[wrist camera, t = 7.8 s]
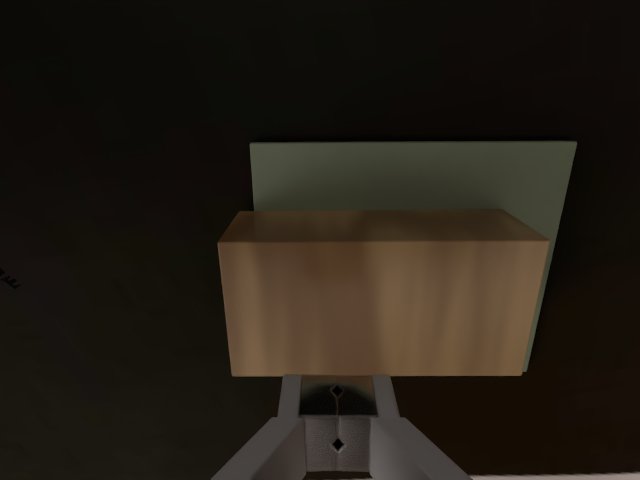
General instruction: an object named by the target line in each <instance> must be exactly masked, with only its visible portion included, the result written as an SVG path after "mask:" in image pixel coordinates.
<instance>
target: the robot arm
mask: <svg viewBox="0 0 640 480" xmlns="http://www.w3.org/2000/svg"><path fill="white" fill-rule="evenodd" d="M307 471H361V472H370V474H371V476H372V477H373V479H374V480H473V479H471V478H470V477H469V476H468V475H467V474H466V473H465V472H464V471H463V470H462V469H461V468H459V467H458V466H457V465H456V464H455V463H454V462H453V461H452V460H451V459H450V458H449V457H447V456H446V455H445V454H444V453H443V452H442V451H441V450H440V449H439V448H438V447H437V446H435V445H434V444H433V443H432V442H431V441H430V440H429V439H428V438H427V437H426V436H425V435H423V434H422V433H421V432H420V431H419V430H418V429H417V428H416V427H415V426H414V425H413V424H411V423H410V422H409V421H408V420H407V419H406V418H400V416H399V412H398V408H397V403H396V399H395V395H394V391H393V387H392V382H391V378H390V376H389V375H388V374H374V375H313V374H302V375H301V374H285V375H284V377H283V382H282V389H281V396H280V403H279V410H278V416H277V417H272V418H271V419H270V420H269V421H268V422H267V423H266V424H265V425H264V426H263V427H262V428H261V429H260V430H259V431H258V432H257V433H256V434H255V435H254V436H253V437H252V438H251V439H250V440H249V441H248V442H247V443H246V444H245V445H244V446H243V447H242V448H241V449H240V450H239V451H238V452H237V453H236V454H235V455H234V456H233V457H232V458H231V459H230V460H229V461H228V462H227V463H226V464H225V465H224V466H223V467H222V468H221V469H220V470H219V471H218V472H217V473H216V474H215V475H214V476H213V477H212V479H211V480H302V479H303V477H304V476H305V474H306V472H307Z"/></svg>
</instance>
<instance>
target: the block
mask: <svg viewBox="0 0 640 480" xmlns="http://www.w3.org/2000/svg"><path fill="white" fill-rule="evenodd" d="M217 244H218V253H219V262H220V271H221V280H222V289H223V298H224V308H225V317H226V326H227V335H228V344H229V353H230V362H231V371H232V376H284V375H285V374H301V375H302V374H313V375H374V374H388V375H389V376H521V375H522V372H523V367H524V363H525V358H526V353H527V348H528V344H529V339H530V334H531V330H532V325H533V320H534V315H535V311H536V306H537V301H538V297H539V292H540V287H541V282H542V278H543V273H544V268H545V263H546V259H547V254H548V249H549V245H550V240H549V239H548V238H546V237H544V236H543V235H541V234H540V233H538V232H537V231H535V230H534V229H532V228H531V227H529V226H528V225H526V224H525V223H523V222H522V221H520V220H518V219H517V218H515V217H514V216H512V215H511V214H509V213H508V212H506V211H505V210H503V209H469V210H329V211H240V212H239V213H238V214H237V215H236V217H235V218H234V220H233V221H232V223H231V224H230V225H229V227H228V228H227V230H226V231H225V233H224V234H223V235H222V237H221V238H220V240H219V241H218V243H217Z"/></svg>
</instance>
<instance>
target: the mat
mask: <svg viewBox="0 0 640 480" xmlns="http://www.w3.org/2000/svg"><path fill="white" fill-rule="evenodd" d="M576 146H577V142H576V141H409V142H251V143H250V155H251V170H252V184H253V199H254V211H329V210H469V209H503V210H505V211H506V212H508V213H509V214H511V215H512V216H514V217H515V218H517V219H518V220H520V221H522V222H523V223H525V224H526V225H528V226H529V227H531V228H532V229H534V230H535V231H537V232H538V233H540V234H541V235H543V236H544V237H546V238H548V239H549V240H550V245H549V249H548V254H547V259H546V263H545V268H544V273H543V278H542V282H541V287H540V292H539V297H538V301H537V306H536V311H535V315H534V320H533V325H532V330H531V334H530V339H529V344H528V348H527V353H526V358H525V363H524V367H523V372H526V371H527V367H528V363H529V358H530V354H531V349H532V345H533V340H534V336H535V331H536V327H537V322H538V318H539V313H540V309H541V304H542V300H543V295H544V290H545V286H546V281H547V277H548V272H549V268H550V263H551V259H552V254H553V250H554V245H555V241H556V236H557V232H558V227H559V223H560V218H561V214H562V209H563V205H564V200H565V196H566V191H567V187H568V182H569V178H570V173H571V168H572V164H573V159H574V155H575V150H576Z"/></svg>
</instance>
